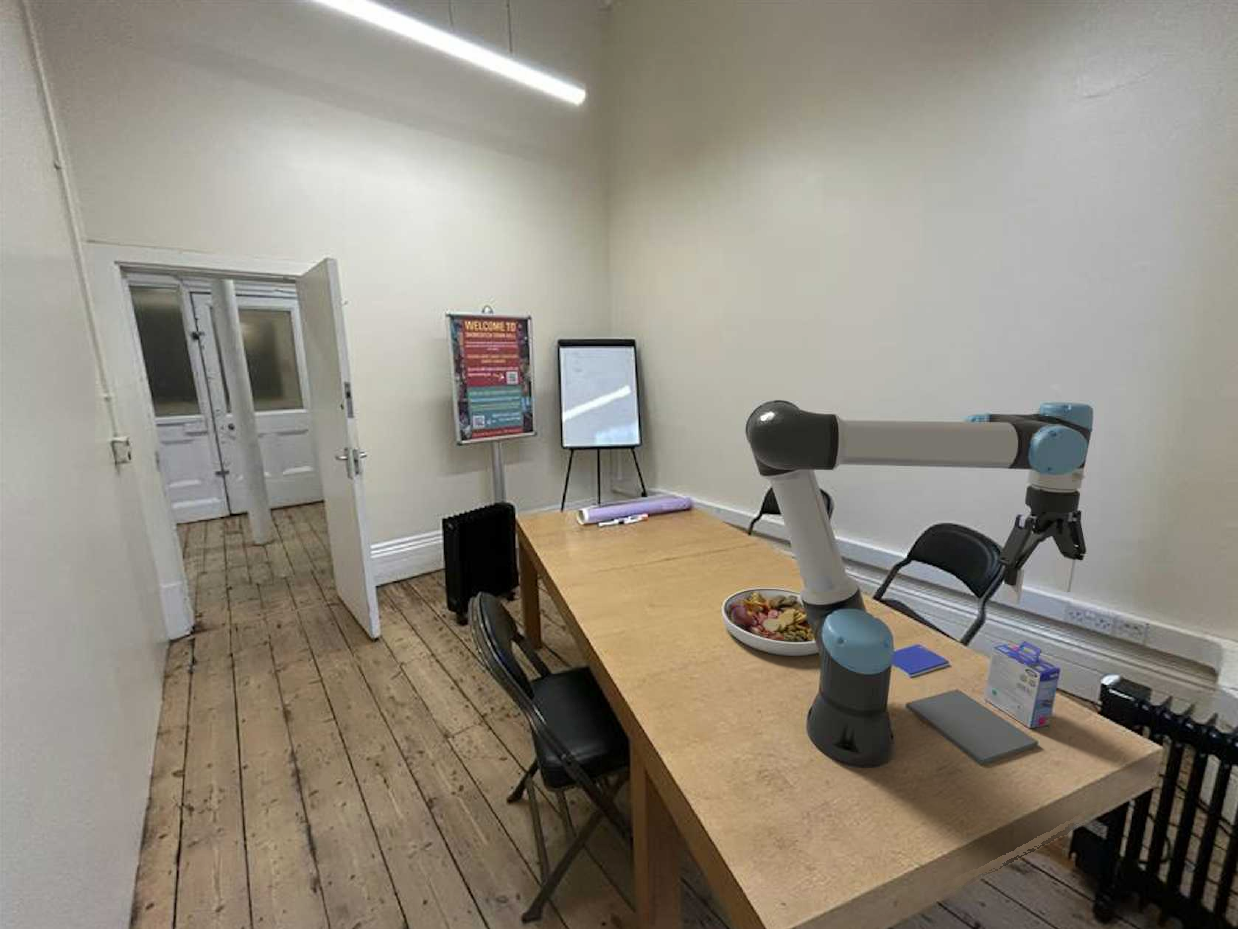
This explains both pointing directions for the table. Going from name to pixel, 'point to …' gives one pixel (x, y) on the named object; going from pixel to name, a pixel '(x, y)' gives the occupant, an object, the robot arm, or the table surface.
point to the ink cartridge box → (1022, 684)
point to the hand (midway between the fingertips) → (1036, 594)
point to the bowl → (770, 621)
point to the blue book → (917, 660)
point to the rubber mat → (971, 726)
